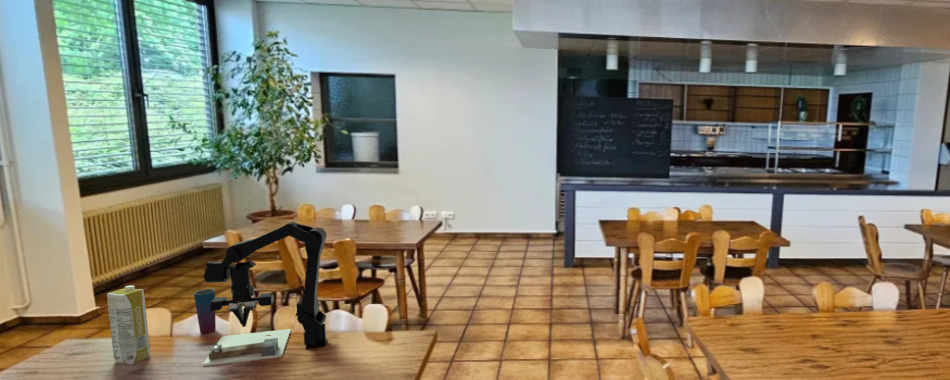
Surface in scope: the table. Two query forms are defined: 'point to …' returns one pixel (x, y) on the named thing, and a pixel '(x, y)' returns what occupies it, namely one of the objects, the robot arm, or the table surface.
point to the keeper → (269, 347)
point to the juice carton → (128, 325)
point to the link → (237, 350)
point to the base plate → (248, 339)
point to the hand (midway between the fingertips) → (244, 326)
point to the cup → (205, 310)
